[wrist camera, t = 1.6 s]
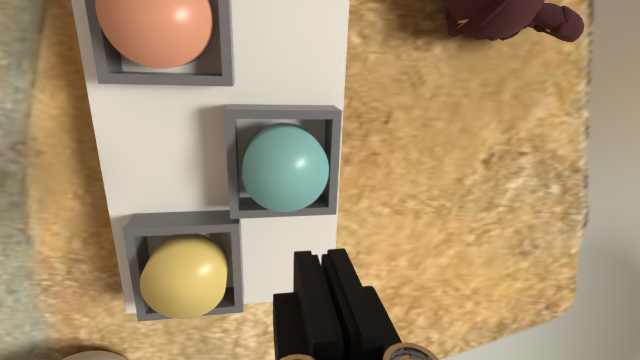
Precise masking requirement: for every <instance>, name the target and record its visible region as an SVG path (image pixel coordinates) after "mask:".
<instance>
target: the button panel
mask: <svg viewBox="0 0 640 360" xmlns="http://www.w3.org/2000/svg"><path fill="white" fill-rule="evenodd" d="M209 1H210V4H211V7H212V11H213V17H214V29H213V35H212V38H211V41H210V43H209V45H208V47H207V49H206V50H205V51H204V53H203V54H202V55H201V56H200V57H199V58H197V59H196V60H194V61H193V62H191V63H189V64H186V65H183V66H178V67H173V68H166V69H158V68H150V67H146V66H143V65H140V64H138V63H136V62H133V61H132V60H130V59H128V58H127V57H125V56H124V55H123V54H121V53H120V52H119V51H118V50H117V49H116V48H115V47H114V46H113V45H112V44H111V42H110V41H109V40H108V38H107V37H106V35H105V34H104V32H103V30H102V28H101V26H100V23H99V20H98V18H97V13H96V7H95V0H71V3H72V8H73V14H74V20H75V25H76V31H77V36H78V42H79V48H80V53H81V59H82V65H83V70H84V76H85V81H86V87H87V93H88V98H89V104H90V109H91V115H92V121H93V126H94V132H95V138H96V143H97V149H98V154H99V160H100V166H101V171H102V177H103V182H104V188H105V194H106V199H107V205H108V211H109V216H110V222H111V227H112V233H113V239H114V244H115V250H116V255H117V261H118V267H119V272H120V278H121V284H122V289H123V295H124V300H125V306H126V312H127V314H129V313H137V318H138V321H148V320H160V319H171V318H170V317H167V316H164V315H162V314H160V313H158V312H156V311H155V310H153V309H152V308H151V307H150V306H149V305H148V304H147V303H146V302H145V300H144V299H143V297H142V294H141V291H140V278H141V274H142V272H143V270H144V268H145V266H146V264H147V262H148V260H149V258H150V256H151V254H152V252H153V251H154V249H155V248H156V246H157V245H158V244H159V243H160V242H162V241H163V240H164V239H166V238H168V237H170V236H172V235H178V234H202V235H205V236H207V237H209V238H211V239H213V240H214V241H216V242H217V243H218V244H219V245H220V246H221V247H222V248H223V250H224V251H225V253H226V256H227V259H228V273H227V281H226V289H225V293H224V296H223V298H222V300H221V301H220V302H219V304H218V305H217V306H216V307H215V308H214V309H212V310H211V311H209V312H208V313H206V314H204V315H201V316H205V315H217V314H228V313H239V312H243V304H249V303H261V302H273V294H276V293H289V292H293V271H294V251H311V252H312V255H316V254H317V255H318V258H319V261H320V264H321V257H322V254H327V251H328V249H335V248H336V231H337V213H338V195H339V177H340V159H341V141H342V123H343V105H344V87H345V69H346V51H347V33H348V15H349V0H209ZM275 123H292V124H296V125H299V126H301V127H303V128H305V129H306V130H308V131H309V132H310V133H311V134H312V135H313V136H314V137H315V139H316V140H317V141H318V143H319V144H320V146H321V147H322V149H323V150H324V152H325V154H326V156H327V160H328V164H329V175H328V180H327V183H326V186H325V188H324V190H323V192H322V193H321V194H320V196H319V197H318V198H317V199H316V200H315V201H314V202H313V203H311V204H310V205H308V206H307V207H304V208H302V209H300V210H297V211H292V212H277V211H272V210H269V209H267V208H264V207H263V206H261V205H259V204H258V203H257V202H256V201H255V200H253V199H252V197H251V196H250V195H249V193H248V192H247V190H246V188H245V185H244V182H243V178H242V165H243V156H244V151H245V148H246V146H247V144H248V142H249V141H250V139H251V138H252V137H253V135H254V134H255V133H257V132H258V131H259V130H261V129H262V128H264V127H266V126H268V125H271V124H275Z"/></svg>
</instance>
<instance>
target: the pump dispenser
mask: <svg viewBox="0 0 640 360" xmlns="http://www.w3.org/2000/svg"><path fill="white" fill-rule="evenodd" d="M62 360H128V359H126V358H125V357H123V356H121V355H118V354H116V353H112V352H108V351H86V352H80V353H77V354H73V355H71V356H68V357H66V358H64V359H62Z"/></svg>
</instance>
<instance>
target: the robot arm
mask: <svg viewBox="0 0 640 360" xmlns="http://www.w3.org/2000/svg"><path fill="white" fill-rule="evenodd" d="M273 329H274V347H275V360H439V359H438V358H437V357H436V356H435V355H434V354H433V353H432V352H431V351H429V350H428V349H426V348H424V347H422V346H420V345H417V344H414V343H407V342H405V343H402V341H401V340H400V338H399V336H398V334H397V332H396V330H395V328H394V326H393V324H392V322H391V320H390V318H389V316H388V314H387V312H386V310H385V308H384V306H383V304H382V302H381V301H380V299H379V297H378V295H377V293H376V291H375V289H374V288H373V287H372V286H364V287H362V284H361V282H360V280H359V278H358V276H357V274H356V272H355V269H354V267H353V265H352V263H351V261H350V259H349V257H348V254H347V252H346V250H345V249H344V248H343V249H328V251H327V254H322V257H321V264H320V261H319V258H318V255H317V254H316V255H312V252H311V251H294V271H293V292H289V293H276V294H273Z"/></svg>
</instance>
